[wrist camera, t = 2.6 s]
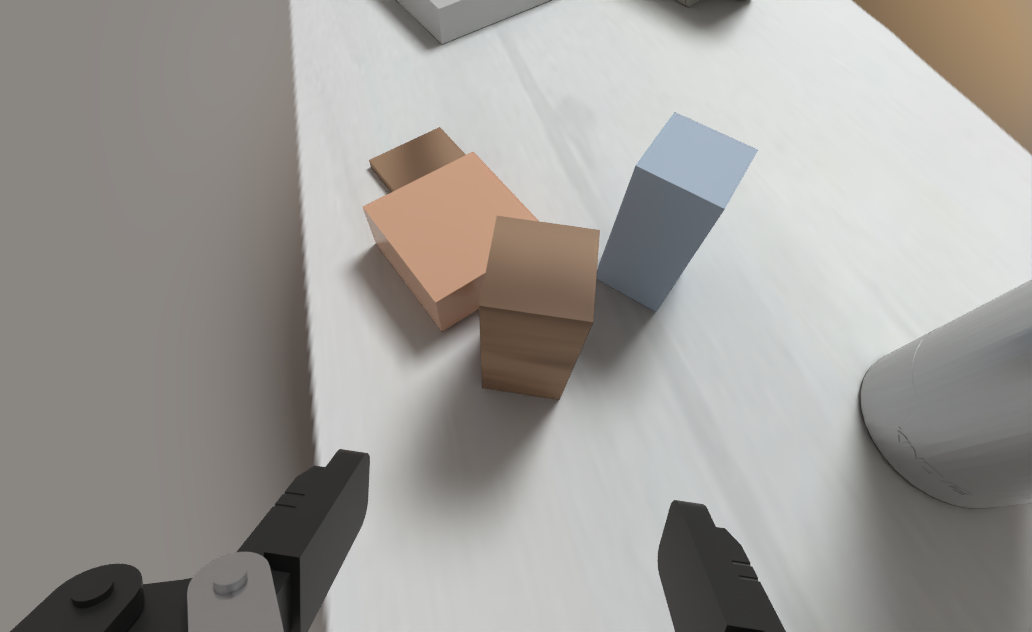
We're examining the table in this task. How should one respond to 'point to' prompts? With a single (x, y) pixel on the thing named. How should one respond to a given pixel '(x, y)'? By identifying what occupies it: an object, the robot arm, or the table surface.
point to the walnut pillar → (536, 305)
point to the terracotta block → (444, 234)
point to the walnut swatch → (415, 159)
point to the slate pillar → (671, 208)
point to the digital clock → (688, 2)
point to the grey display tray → (463, 14)
